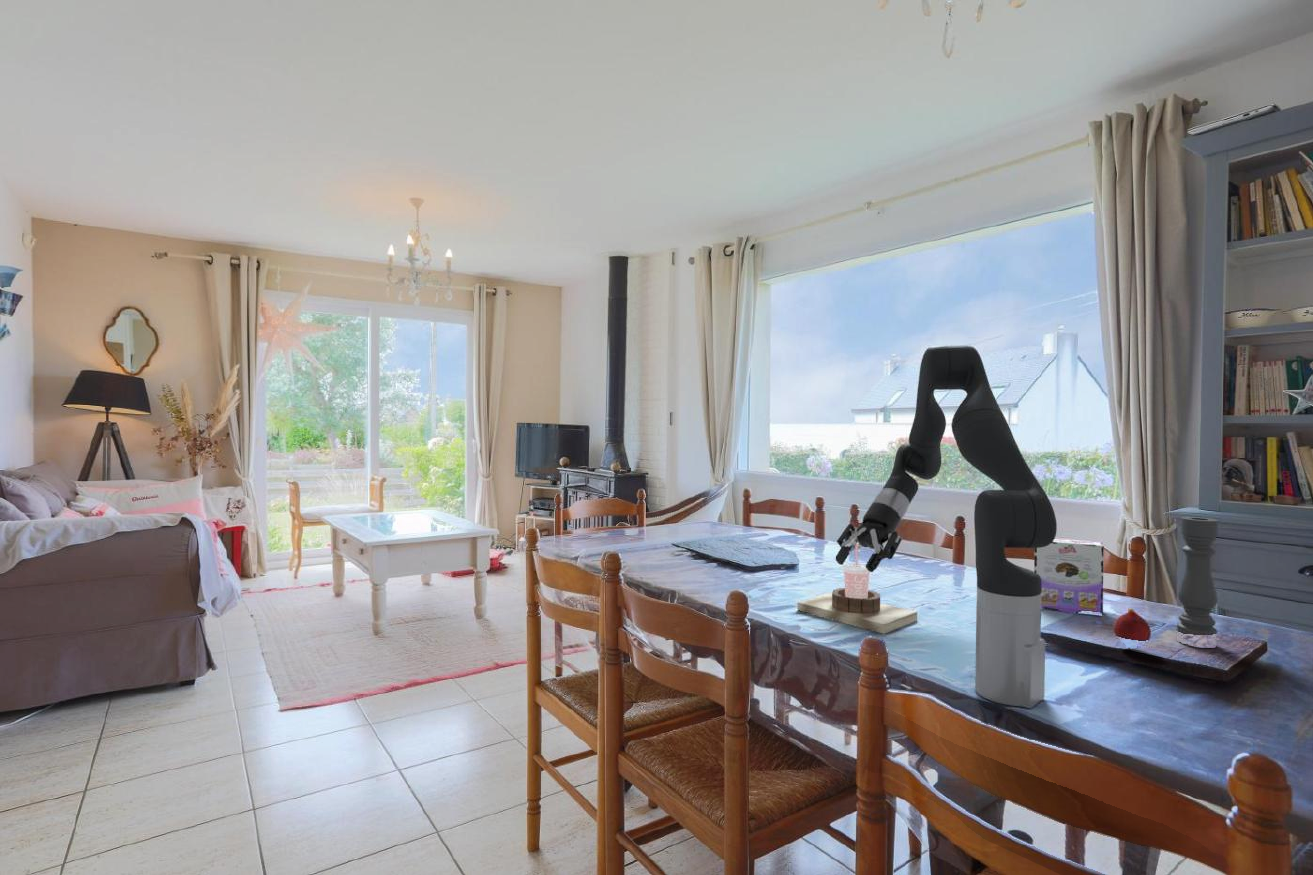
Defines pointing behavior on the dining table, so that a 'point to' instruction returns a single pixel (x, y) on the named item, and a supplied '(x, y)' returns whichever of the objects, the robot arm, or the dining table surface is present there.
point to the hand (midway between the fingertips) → (853, 566)
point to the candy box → (1071, 575)
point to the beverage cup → (856, 580)
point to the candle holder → (1198, 576)
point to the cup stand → (858, 611)
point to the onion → (1132, 627)
